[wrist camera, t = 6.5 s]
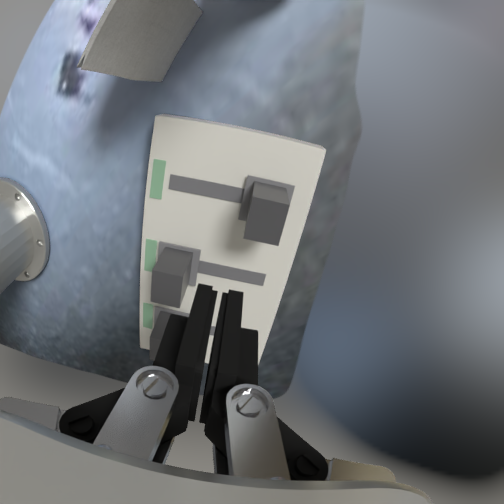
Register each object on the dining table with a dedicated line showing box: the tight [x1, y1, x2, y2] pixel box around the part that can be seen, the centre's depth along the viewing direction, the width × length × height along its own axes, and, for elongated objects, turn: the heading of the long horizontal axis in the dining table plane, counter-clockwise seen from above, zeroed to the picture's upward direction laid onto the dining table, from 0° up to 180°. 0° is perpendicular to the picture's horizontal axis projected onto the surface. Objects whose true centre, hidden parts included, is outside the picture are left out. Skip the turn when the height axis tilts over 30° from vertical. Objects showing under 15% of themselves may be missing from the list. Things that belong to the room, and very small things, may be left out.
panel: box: [140, 114, 326, 364], centre depth 29 cm, size 24×13×2 cm, turn 168°
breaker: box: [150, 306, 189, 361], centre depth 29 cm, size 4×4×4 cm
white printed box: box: [77, 0, 203, 82], centre depth 16 cm, size 4×7×10 cm, turn 150°
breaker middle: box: [151, 241, 201, 308], centre depth 25 cm, size 4×4×4 cm
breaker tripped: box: [238, 175, 295, 246], centre depth 23 cm, size 4×4×4 cm
